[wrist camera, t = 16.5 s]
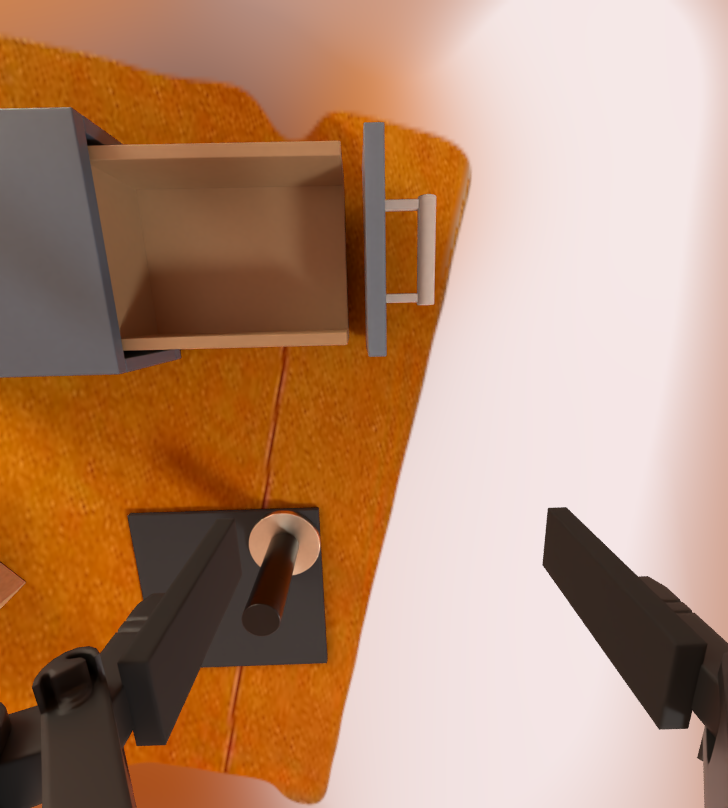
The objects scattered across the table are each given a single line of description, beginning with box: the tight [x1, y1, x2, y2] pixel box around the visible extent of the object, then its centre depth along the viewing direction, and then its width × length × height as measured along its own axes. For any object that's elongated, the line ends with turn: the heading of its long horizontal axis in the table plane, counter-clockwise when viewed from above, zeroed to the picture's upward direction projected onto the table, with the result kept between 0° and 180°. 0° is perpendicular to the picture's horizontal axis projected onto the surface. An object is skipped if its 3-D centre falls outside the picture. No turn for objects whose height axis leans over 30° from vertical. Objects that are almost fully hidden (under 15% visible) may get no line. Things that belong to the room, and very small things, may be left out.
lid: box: [242, 510, 321, 636], centre depth 32 cm, size 7×7×10 cm
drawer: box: [88, 122, 436, 357], centre depth 27 cm, size 22×14×7 cm, turn 91°
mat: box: [128, 507, 327, 667], centre depth 38 cm, size 18×18×1 cm
